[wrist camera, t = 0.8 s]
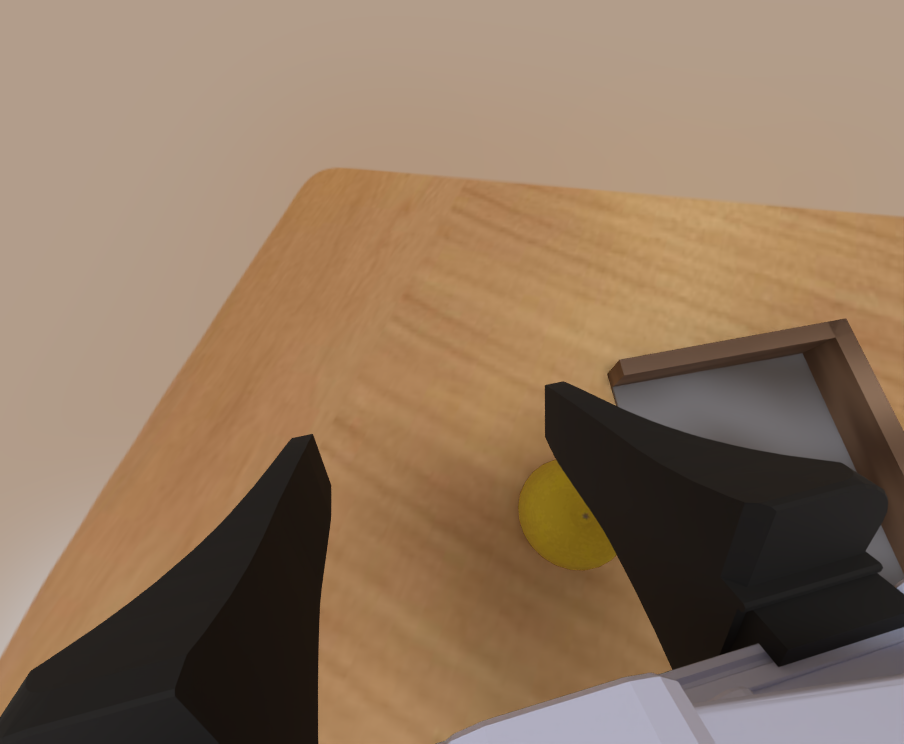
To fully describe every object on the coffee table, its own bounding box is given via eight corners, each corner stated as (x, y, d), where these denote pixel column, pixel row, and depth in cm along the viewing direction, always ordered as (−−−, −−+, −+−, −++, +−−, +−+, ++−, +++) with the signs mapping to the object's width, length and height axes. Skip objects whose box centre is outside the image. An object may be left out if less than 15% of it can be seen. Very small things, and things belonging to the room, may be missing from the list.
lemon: (509, 544, 25) (511, 567, 17) (524, 455, 26) (532, 440, 18) (602, 567, 24) (647, 602, 16) (612, 473, 25) (658, 464, 17)
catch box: (938, 614, 21) (1006, 633, 18) (686, 646, 22) (712, 668, 19) (808, 337, 26) (846, 318, 23) (607, 374, 27) (619, 359, 24)
